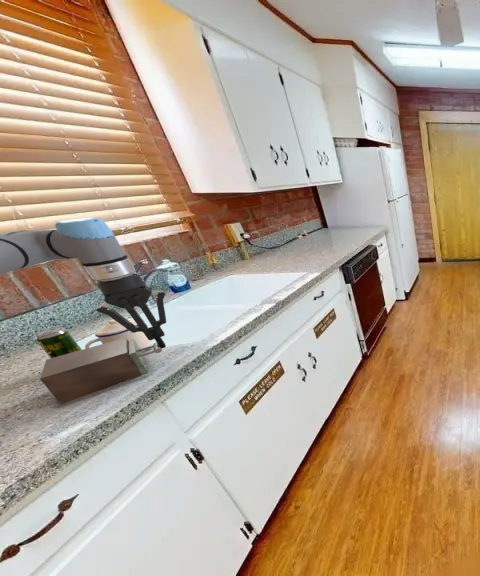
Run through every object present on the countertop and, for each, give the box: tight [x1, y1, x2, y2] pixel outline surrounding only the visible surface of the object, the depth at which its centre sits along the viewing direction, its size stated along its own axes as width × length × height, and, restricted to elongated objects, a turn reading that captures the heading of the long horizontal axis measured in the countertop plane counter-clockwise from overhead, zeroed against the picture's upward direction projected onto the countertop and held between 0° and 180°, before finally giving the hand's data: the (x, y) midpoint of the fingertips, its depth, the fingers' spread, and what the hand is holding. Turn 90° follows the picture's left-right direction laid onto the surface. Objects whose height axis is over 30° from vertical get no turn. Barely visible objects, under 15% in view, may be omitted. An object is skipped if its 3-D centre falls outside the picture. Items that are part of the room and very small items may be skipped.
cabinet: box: [39, 338, 143, 405], centre depth 81 cm, size 14×12×9 cm
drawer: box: [128, 339, 163, 376], centre depth 84 cm, size 17×10×7 cm, turn 141°
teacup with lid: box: [84, 318, 153, 353], centre depth 93 cm, size 12×9×12 cm
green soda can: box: [33, 326, 83, 359], centre depth 87 cm, size 5×5×12 cm
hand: (163, 346), depth 90 cm, fingers closed
